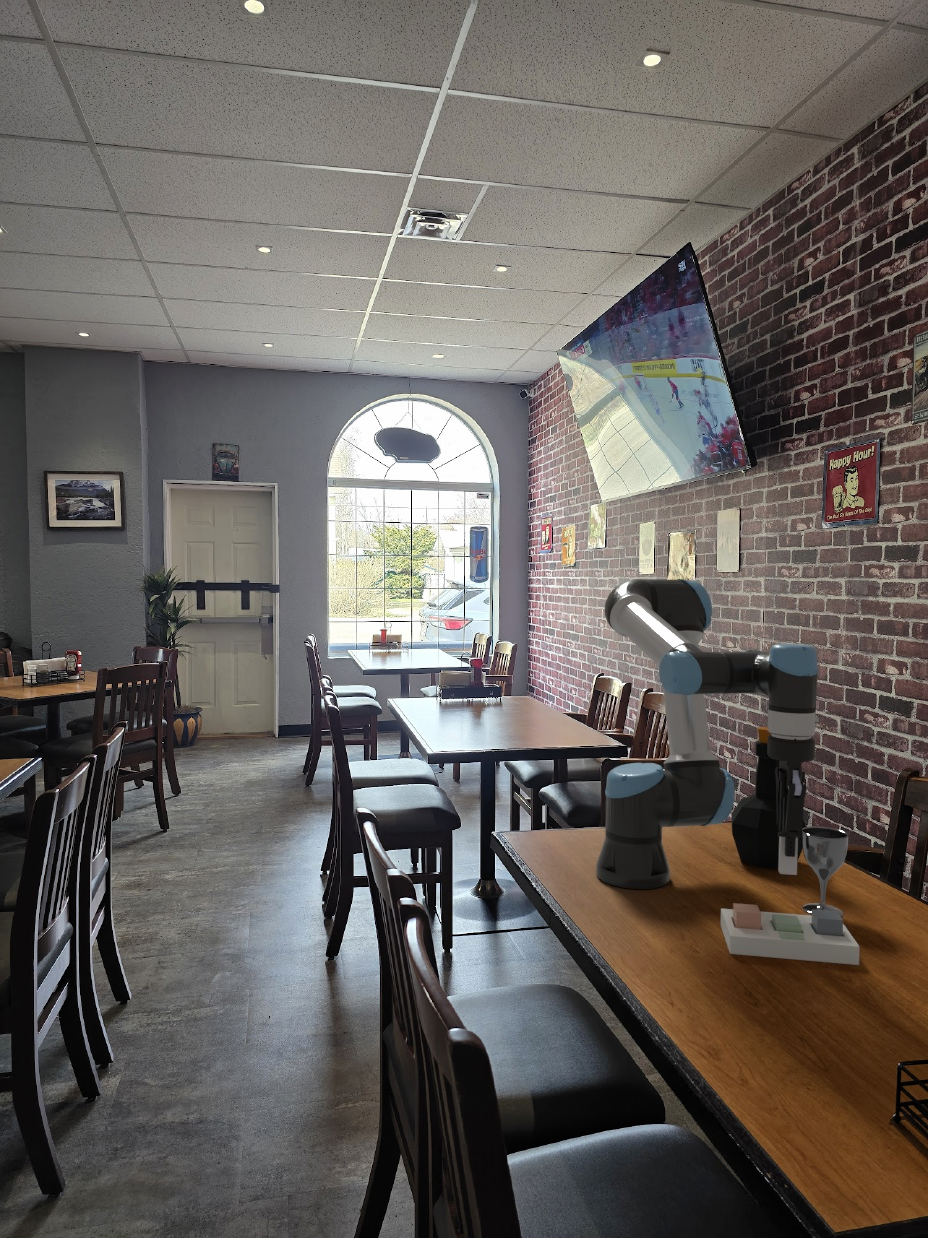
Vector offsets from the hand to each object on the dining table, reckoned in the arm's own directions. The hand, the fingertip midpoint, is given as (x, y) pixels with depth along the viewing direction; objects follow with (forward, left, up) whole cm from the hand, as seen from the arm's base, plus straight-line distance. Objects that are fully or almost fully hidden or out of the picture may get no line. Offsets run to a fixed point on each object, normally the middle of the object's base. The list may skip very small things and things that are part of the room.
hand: (787, 873), depth 139 cm
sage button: (0, 0, -11) cm, 11 cm away
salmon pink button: (-6, 0, -10) cm, 12 cm away
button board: (0, 0, -12) cm, 12 cm away
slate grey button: (+7, 0, -10) cm, 12 cm away
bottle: (+5, +45, -13) cm, 47 cm away
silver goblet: (+10, +17, -13) cm, 23 cm away
